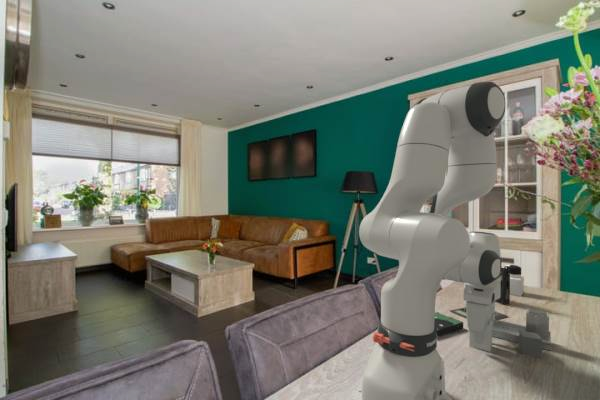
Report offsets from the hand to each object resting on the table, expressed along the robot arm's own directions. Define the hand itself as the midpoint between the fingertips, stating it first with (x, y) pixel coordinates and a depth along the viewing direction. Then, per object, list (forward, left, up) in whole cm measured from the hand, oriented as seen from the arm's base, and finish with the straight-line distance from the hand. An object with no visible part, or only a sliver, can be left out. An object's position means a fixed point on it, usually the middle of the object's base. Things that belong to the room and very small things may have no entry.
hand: (481, 337), depth 84 cm
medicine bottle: (+63, -4, -3) cm, 63 cm away
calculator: (+26, +4, -3) cm, 26 cm away
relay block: (+4, -11, -2) cm, 12 cm away
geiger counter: (+46, +1, -3) cm, 46 cm away
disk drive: (+5, +14, -3) cm, 15 cm away
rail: (+12, -6, -2) cm, 14 cm away
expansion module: (0, 0, -2) cm, 3 cm away
